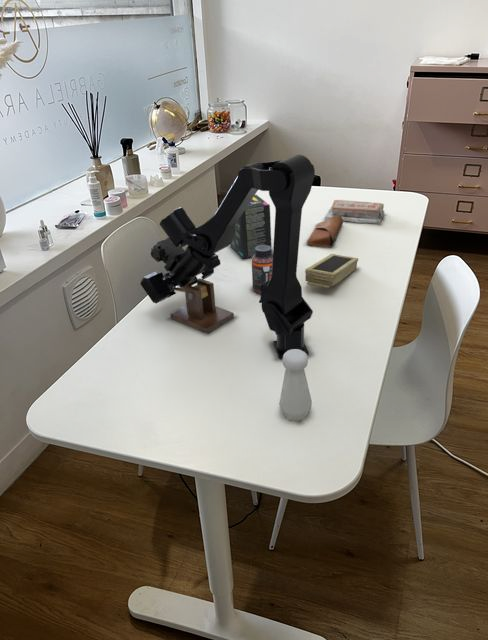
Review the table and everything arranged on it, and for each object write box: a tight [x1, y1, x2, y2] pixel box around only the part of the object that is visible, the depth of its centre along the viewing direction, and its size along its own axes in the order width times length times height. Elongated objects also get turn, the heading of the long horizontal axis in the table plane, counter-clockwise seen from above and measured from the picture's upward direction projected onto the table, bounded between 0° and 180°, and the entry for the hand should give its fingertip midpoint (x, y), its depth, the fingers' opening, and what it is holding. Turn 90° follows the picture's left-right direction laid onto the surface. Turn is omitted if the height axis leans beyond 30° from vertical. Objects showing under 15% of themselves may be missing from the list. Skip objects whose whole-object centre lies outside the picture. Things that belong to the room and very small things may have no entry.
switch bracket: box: [169, 277, 235, 335], centre depth 129 cm, size 12×9×9 cm
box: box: [304, 253, 359, 289], centre depth 147 cm, size 8×22×5 cm, turn 155°
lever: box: [172, 282, 208, 298], centre depth 132 cm, size 14×4×4 cm, turn 51°
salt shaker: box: [278, 349, 313, 422], centre depth 98 cm, size 6×6×13 cm
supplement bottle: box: [251, 245, 273, 294], centre depth 140 cm, size 6×6×11 cm
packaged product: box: [324, 199, 385, 225], centre depth 184 cm, size 18×5×10 cm
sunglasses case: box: [306, 215, 344, 249], centre depth 172 cm, size 18×7×7 cm, turn 165°
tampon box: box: [229, 194, 273, 259], centre depth 161 cm, size 11×9×15 cm
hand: (164, 292), depth 137 cm, fingers closed on lever, 3 cm apart
